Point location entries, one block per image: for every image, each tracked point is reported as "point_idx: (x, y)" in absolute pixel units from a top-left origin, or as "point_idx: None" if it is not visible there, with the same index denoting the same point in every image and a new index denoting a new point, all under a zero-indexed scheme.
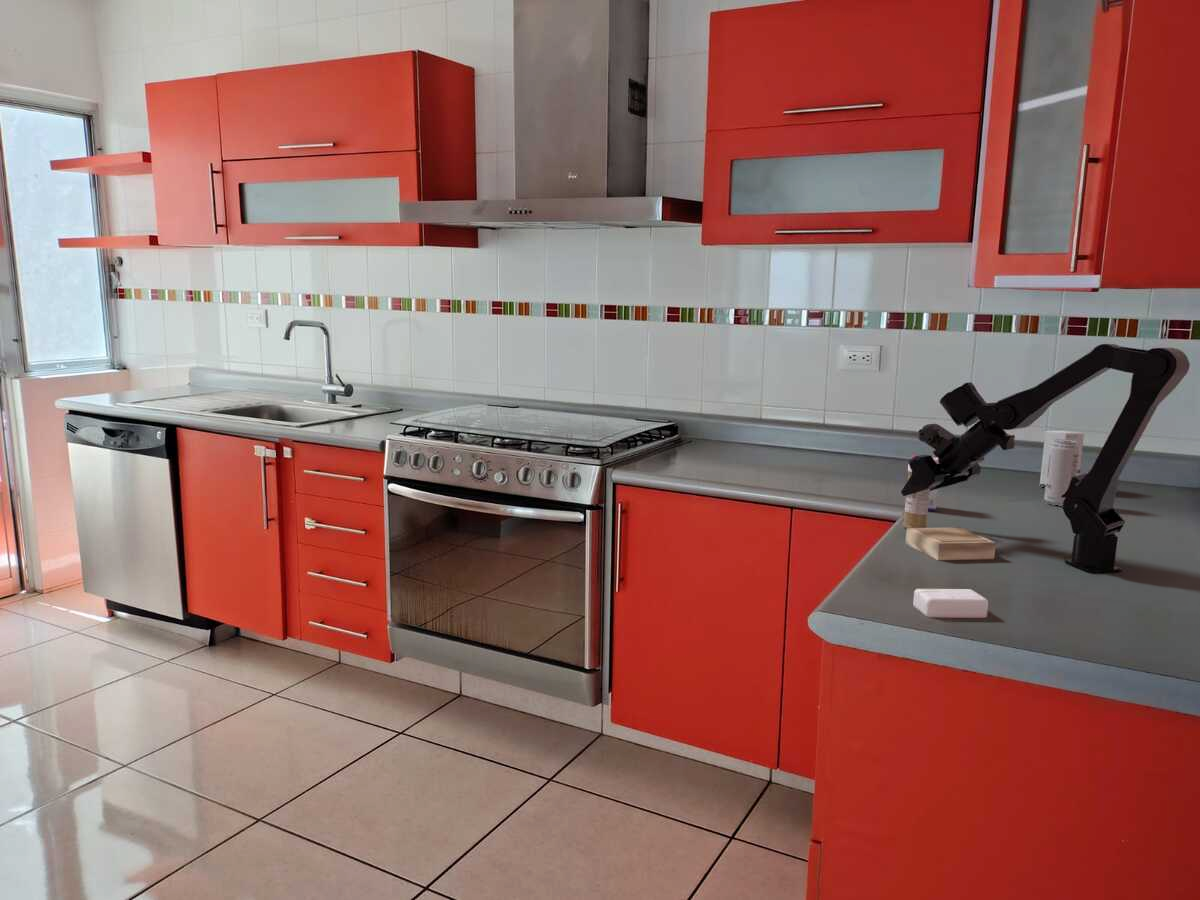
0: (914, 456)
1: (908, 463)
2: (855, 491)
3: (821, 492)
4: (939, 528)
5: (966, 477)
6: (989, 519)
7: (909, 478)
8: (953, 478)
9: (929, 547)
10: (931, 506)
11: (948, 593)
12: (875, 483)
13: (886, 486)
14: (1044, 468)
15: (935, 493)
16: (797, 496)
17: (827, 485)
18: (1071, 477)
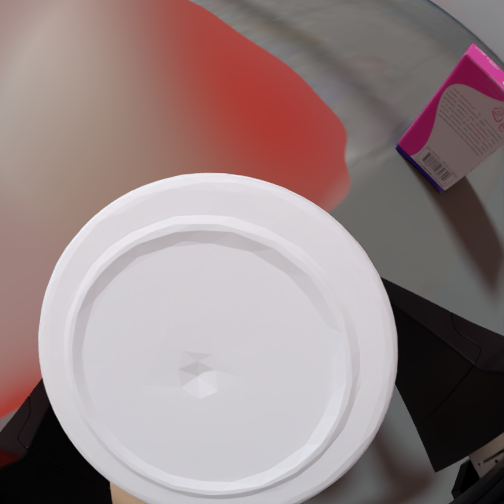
0: (477, 50)
1: (81, 233)
2: (367, 36)
3: (297, 16)
4: (132, 496)
5: (460, 479)
6: (490, 303)
7: (18, 411)
8: (439, 437)
9: None
10: (439, 180)
11: None
12: (424, 41)
13: (432, 54)
14: None
15: (465, 168)
16: (226, 18)
17: (342, 10)
18: None
